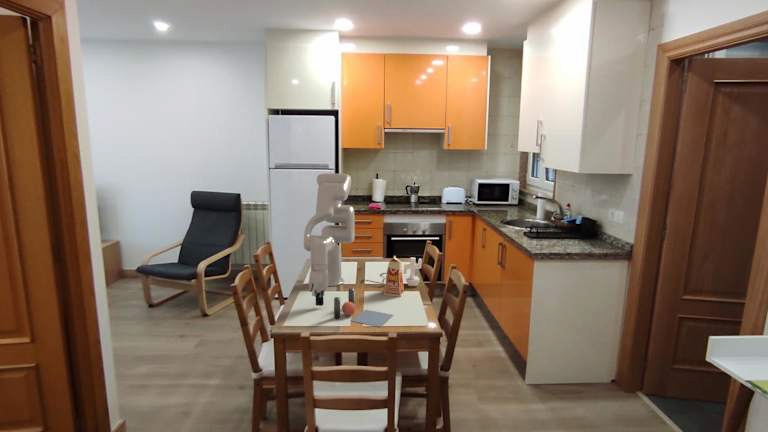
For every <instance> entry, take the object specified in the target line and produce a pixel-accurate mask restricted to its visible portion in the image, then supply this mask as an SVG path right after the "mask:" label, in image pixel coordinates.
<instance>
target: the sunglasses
mask: <svg viewBox="0 0 768 432" xmlns="http://www.w3.org/2000/svg"><path fill="white" fill-rule="evenodd" d="M384 274H386V275H387V272H383V273H380V274H379V276H380V277H381V276H382V275H384ZM364 281H367V282H371V283H376V284H380V285H382V286H383V287H385V284H384V283H385V281H386V277H384V278H382V280H381V282H379V281H374V280H370V279H362V280H361V281H360V283H362V282H364Z"/></svg>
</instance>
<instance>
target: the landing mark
mask: <svg viewBox="0 0 768 432" xmlns="http://www.w3.org/2000/svg"><path fill="white" fill-rule="evenodd" d="M393 316H394V314H391V313H386V312H380V311H377V310H376V311H375V310H369V309H364V310H363V311H361V312H360V313H359V314H358V315H356V316H355V317H354V318H352V319H350V322H354V323H357V324H362V325H367V326H373V327H379V328H382V327H383V326H384V325H385V324H386V323H387V322H388V321H389V320H390V319H392V317H393Z"/></svg>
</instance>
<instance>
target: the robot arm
mask: <svg viewBox="0 0 768 432" xmlns="http://www.w3.org/2000/svg"><path fill="white" fill-rule="evenodd" d="M316 183H317V186H318V188H317V193H316V195H317V197H316V208H315V214H314V215H313V216H312V217H311V218H310V219H309V220H308V222H307V223H306V226H305V229H304V232H303V248H304V250H305V251H307V252H310V272H309V279H308V292H311V295H312V296H313V297H315V306H319V307H321V306H323V305H324V296H325V291H326V290H327V289H328V287H336V286H341V285H343V284H345V279H344V278H342V250H341V247H340V246H339V244H352V243H354V241H355V237H356V236H355V235H356V233H355V232H356V229H355V228H356V226H355V223H356V221H355V220H356V219H355V217H356V216H355V210H354V207H353V206H352V205H349V204H341V201H342V202H343V201H346V200H347V199H348V197H349V195H350V190H351V187H352V177H351V176H350V175H349V174H348V173H330V172H329V173H325V172H324V173H320V174H318V175H317V176H316ZM322 222H327V223H330V224H329V225H328V224H327V225H325V226H323V227H322V229H321V235H319V234H317V235H315V234H314V235H312V231H313V229H314V228H315V227H316V225H318V224H320V223H322ZM340 224H341V225H340Z"/></svg>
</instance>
